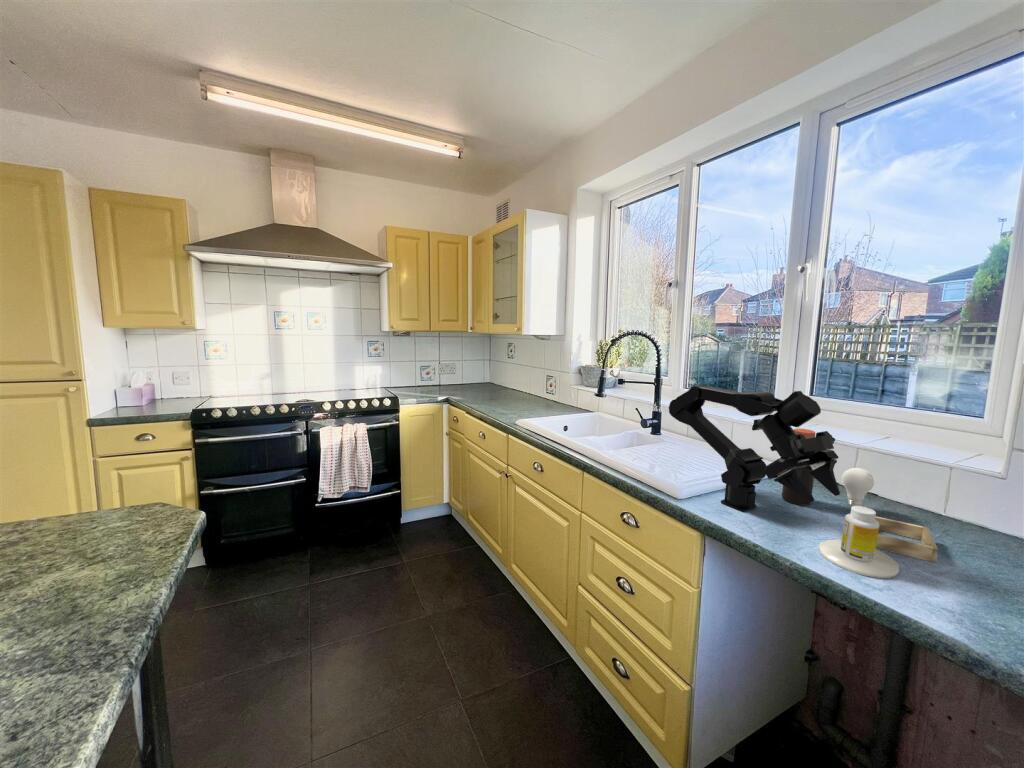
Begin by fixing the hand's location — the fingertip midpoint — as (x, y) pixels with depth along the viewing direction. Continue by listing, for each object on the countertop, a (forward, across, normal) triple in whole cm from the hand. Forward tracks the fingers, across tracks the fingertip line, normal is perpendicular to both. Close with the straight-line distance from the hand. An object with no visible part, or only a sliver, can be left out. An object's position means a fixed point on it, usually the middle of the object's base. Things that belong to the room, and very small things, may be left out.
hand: (825, 498), depth 94 cm
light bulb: (+2, +28, +13) cm, 30 cm away
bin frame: (+12, +16, +2) cm, 20 cm away
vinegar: (-4, +18, +19) cm, 26 cm away
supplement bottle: (+12, 0, +2) cm, 12 cm away
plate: (+13, 0, +2) cm, 13 cm away
